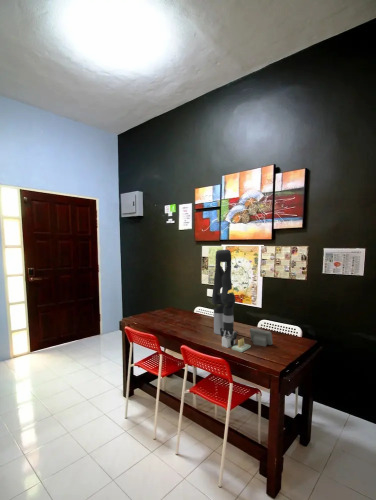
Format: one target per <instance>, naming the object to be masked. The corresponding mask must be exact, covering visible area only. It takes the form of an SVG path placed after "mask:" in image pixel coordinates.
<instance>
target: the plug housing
mask: <svg viewBox="0 0 376 500" xmlns="http://www.w3.org/2000/svg"><path fill="white" fill-rule="evenodd" d="M235 345H236V340H234V344H233V345H231V338H230V337H229V335H226V336H224V337H221V347H223V348H224V347H225V348H226V349H227V348H231V347H233V346H235Z"/></svg>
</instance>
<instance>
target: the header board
mask: <svg viewBox="0 0 376 500" xmlns="http://www.w3.org/2000/svg"><path fill="white" fill-rule="evenodd" d="M251 346H252V345H251V344H248V343H245V337H241V338H240V339H238V340H237V344H234V345H232V346H231V350H232V351H235V352H239V353H243V352H245V351H246V350H248V349H250V348H251Z"/></svg>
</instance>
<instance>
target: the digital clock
mask: <svg viewBox="0 0 376 500" xmlns="http://www.w3.org/2000/svg"><path fill="white" fill-rule="evenodd" d="M249 335H250V340H251V342H252V343H253V345H255V346H261V347H267V345H268V346H271V345H273V334H272V331H270V330H264V329H259V328H252V327H251V328H249Z"/></svg>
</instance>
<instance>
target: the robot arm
mask: <svg viewBox="0 0 376 500" xmlns="http://www.w3.org/2000/svg"><path fill="white" fill-rule="evenodd" d="M221 263H226V266H225V270H224V269H223V267H222V265H221ZM214 267H215V268H214V277H213V287H212V288H213V290H212V294H211V302H212V304H213V305H219V306H216V307H214V308H213V333H214V334H215V335H220V336H221V338H222V337H224V336H226V335H229V337H230V338H231V345H232V346H234V345H235V344H234V340H235V341H236V340H237V336H238V331H236V330H234V325H235V324H234V321H235V320H234V307H235V304H236V300H237V299H236V296H235V294H234V293H233V292H231V293H229V291H231V290H233V289H232V288H233V284H232V253H231V250H230V249H217V250H216V252H215V265H214ZM220 290H221V292H219V291H220ZM226 304H227V305H226ZM233 344H234V345H233Z"/></svg>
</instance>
